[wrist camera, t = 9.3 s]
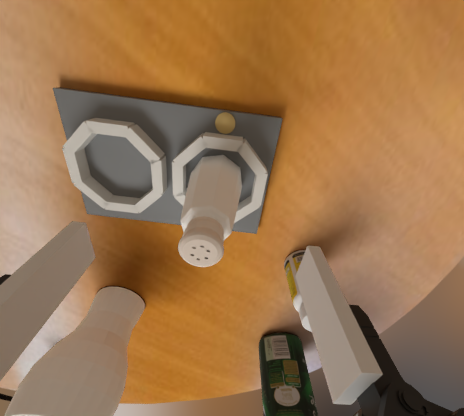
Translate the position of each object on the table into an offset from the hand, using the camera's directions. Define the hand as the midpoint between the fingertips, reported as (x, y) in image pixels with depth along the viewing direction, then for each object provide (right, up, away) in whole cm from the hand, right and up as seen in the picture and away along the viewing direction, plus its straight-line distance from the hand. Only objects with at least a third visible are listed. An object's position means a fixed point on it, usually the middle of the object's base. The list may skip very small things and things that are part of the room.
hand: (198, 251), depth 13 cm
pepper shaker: (+1, +6, +9) cm, 11 cm away
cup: (-16, -12, +22) cm, 30 cm away
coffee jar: (+11, -23, +27) cm, 37 cm away
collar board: (-4, +7, +10) cm, 13 cm away
